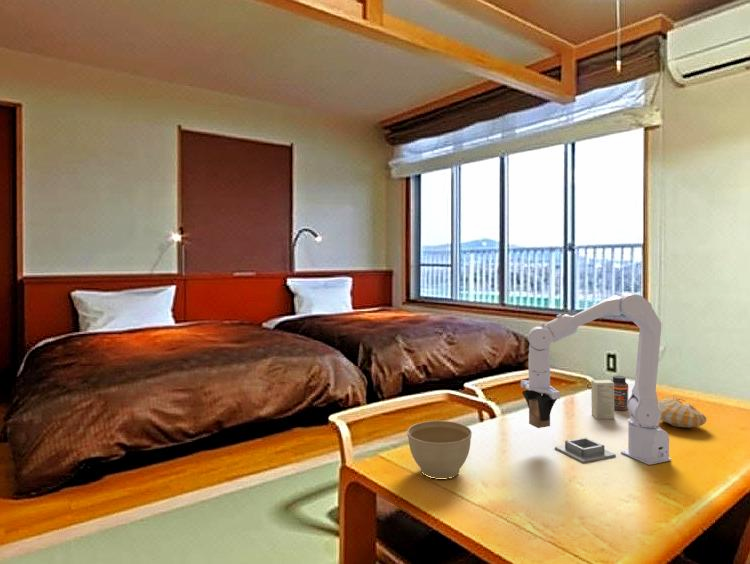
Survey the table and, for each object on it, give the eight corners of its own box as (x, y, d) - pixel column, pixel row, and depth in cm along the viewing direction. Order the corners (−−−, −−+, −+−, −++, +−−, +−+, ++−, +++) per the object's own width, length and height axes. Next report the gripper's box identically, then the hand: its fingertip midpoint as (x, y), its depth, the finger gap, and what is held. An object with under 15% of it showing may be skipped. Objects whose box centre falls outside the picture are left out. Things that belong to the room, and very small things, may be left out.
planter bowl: (398, 466, 138) (397, 425, 137) (452, 456, 143) (451, 417, 143) (425, 491, 122) (424, 446, 122) (484, 479, 128) (484, 436, 128)
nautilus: (659, 412, 179) (710, 422, 170) (646, 425, 162) (702, 437, 153) (661, 389, 179) (712, 398, 170) (647, 400, 162) (704, 411, 153)
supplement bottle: (610, 410, 181) (610, 378, 180) (608, 405, 186) (608, 374, 186) (629, 411, 179) (629, 379, 178) (626, 406, 185) (626, 375, 184)
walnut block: (550, 426, 145) (549, 401, 145) (538, 428, 144) (538, 403, 144) (540, 421, 149) (540, 397, 149) (529, 423, 148) (528, 399, 147)
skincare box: (610, 415, 176) (610, 379, 175) (614, 419, 171) (614, 382, 171) (590, 414, 176) (590, 379, 176) (595, 419, 172) (595, 382, 171)
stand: (615, 456, 141) (615, 447, 140) (583, 463, 137) (583, 453, 137) (586, 443, 151) (586, 434, 151) (554, 448, 147) (554, 439, 147)
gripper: (511, 366, 151) (512, 412, 152) (544, 377, 138) (544, 427, 138) (532, 364, 154) (532, 409, 154) (566, 374, 140) (566, 424, 141)
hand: (539, 418), depth 147 cm, fingers closed on walnut block, 4 cm apart
